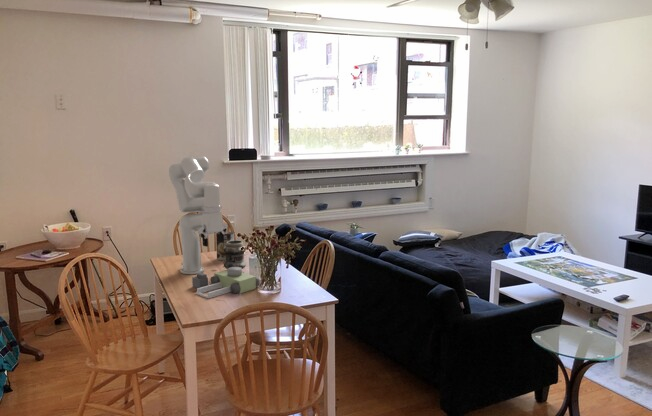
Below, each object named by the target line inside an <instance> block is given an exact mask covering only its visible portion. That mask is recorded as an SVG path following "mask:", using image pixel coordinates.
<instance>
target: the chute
mask: <svg viewBox="0 0 652 416" xmlns="http://www.w3.org/2000/svg"><path fill="white" fill-rule="evenodd" d="M191 279H192V288H194V289H196V290H197V289H198V288H201V287H205V286H208V285H209V278H208V275H207V273H203V272H201V273H197V274H196V276H193V277H192V278H191Z"/></svg>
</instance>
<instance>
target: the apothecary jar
mask: <svg viewBox="0 0 652 416" xmlns="http://www.w3.org/2000/svg"><path fill="white" fill-rule="evenodd" d="M242 247H244V248H245V247H246V246H245V245H244V242H243V241H242V240H239V239H234V240H230V241H227V244H226V246H225V247H224V252H225V253H226V260H224V262H223V267H224V268H225V270H227V269H228V268H230V267H240V268H242V270H244V269H245V268H246V266H247V261H246V260H245V252H246V250H247V249H246V250H244V252H243V251H242V250H241V248H242ZM242 273H245V271H242Z"/></svg>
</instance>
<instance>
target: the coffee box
mask: <svg viewBox="0 0 652 416" xmlns="http://www.w3.org/2000/svg"><path fill="white" fill-rule="evenodd" d="M215 234H216V235H215V237H216V238H215V239H216V243H215V245H216V260H218V261H226V253H225V252H224V247H225V246H226V244H227V241H230V240H235V232H234V231H226V232H225V235H224V243H221V242H219V234H220V233H219V232H217V233H215Z"/></svg>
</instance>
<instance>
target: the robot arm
mask: <svg viewBox="0 0 652 416" xmlns="http://www.w3.org/2000/svg"><path fill="white" fill-rule="evenodd" d="M209 170H210V162H209V160H208V158H207V157H206V156H202V155H201V156H186V157H184V158H182V159H181V161H180V162H176V163H172V164H171V165H170V166H169V168H168V176H169V179H170V181H171V184H172V186H173V187H174V189H175V194H176V199H177V204H178V205H177V206H178V208H179V210H180V212H181V213H184V215H182V216H180V217H179V222H178V223H179V228H180V232H181V233H180V234H181V246H182V247H181V248H182V262H181V263H180V266H182V268H181V269H180V273H181V274H184V275H197V273H203V272H204V271H205V267H204V266H202V253H201V252H202V251H201V239H202V246H203V247H206V248H207V247H208V246H209V239H208V236H209V235H211V234H216V233H218V232H219V233H220V234H219V242H221V243H224V235H225V232H227V231H228V230H227V229H228V227H229V225H228V224H226V223H224V220H223V219H224V217H223V213H222V211H221V209H222V208H223V207H222V205H221V191H220V190H221V189H220V185H219V184H218V183H216V182H214V181H203V180H204V178H205V174H206V173H207V172H208V171H209ZM198 212H199V213H198ZM185 213H187V214H185ZM196 232H197V233H196ZM200 237H201V239H200Z"/></svg>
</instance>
